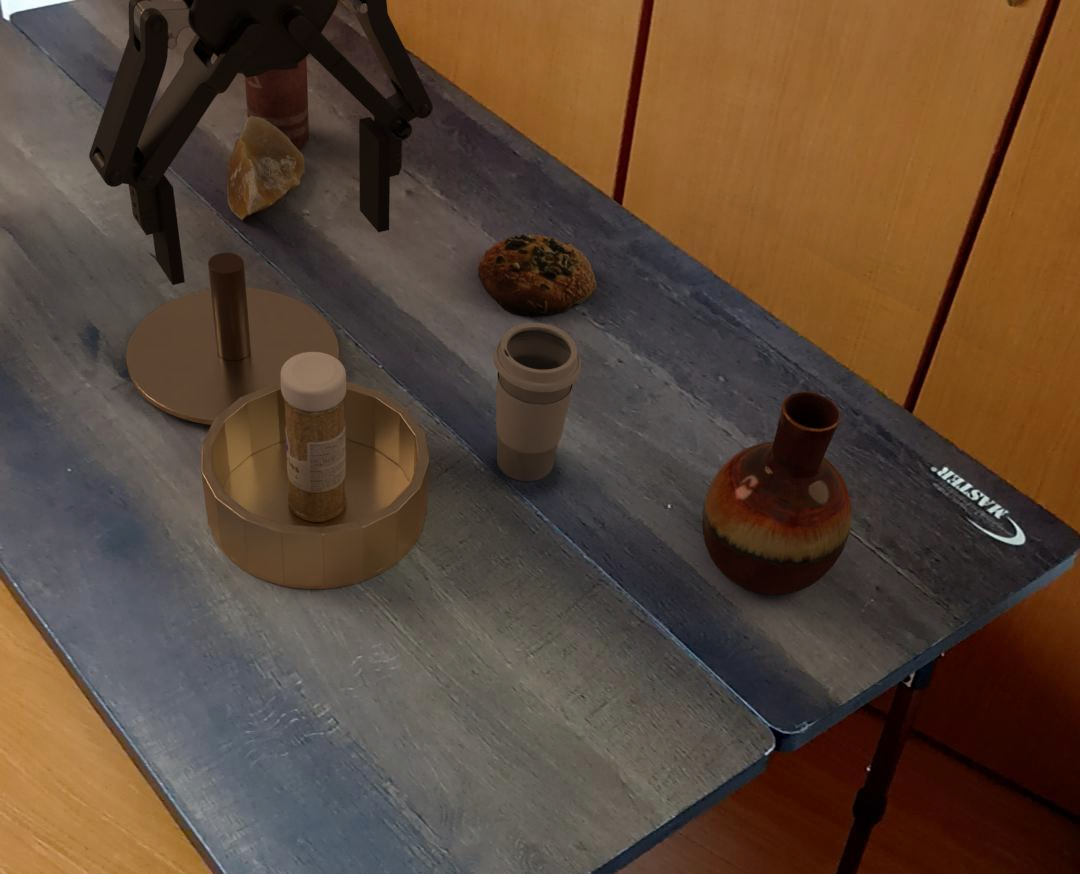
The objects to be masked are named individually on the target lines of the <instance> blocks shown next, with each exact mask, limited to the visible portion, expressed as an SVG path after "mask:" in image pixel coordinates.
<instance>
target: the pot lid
mask: <svg viewBox="0 0 1080 874" xmlns="http://www.w3.org/2000/svg"><path fill="white" fill-rule="evenodd" d="M207 266H208V276H209V285H210V286H209V287H210V289H204V290H201V291H196V292H192V293H189V294H186V295H182V296H180V297H178V298H175V299H173V300H170V301H168V302H166V303H164V304H163V305H161V306H159V307H158V308H156V309H155V310H154V311H152V312H150V313H149V314H148V315H147V316H146V317H144V318H143V320H141V322H139V324H138V325H137V326H136V327H135V329H134V331H133V332H132V334H131V335H130V338H129V341H128V343H127V346H126V352H125V357H126V358H125V362H126V369H127V372H128V376H129V378H130V380H131V383H132V384H133V386H134V387H135V389H136V390H137V391H138V393H139V394H140V395H141V396H142V397H143V398H144V399H145V400H146V401H148V402H149V403H150V404H151V405H153V406H154V407H156V408H157V409H159V410H161V411H162V412H164V413H166V414H168V415H171V416H174V417H176V418H178V419H182V420H185V421H189V422H192V423H197V424H203V425H208V426H209V425H210V426H211V425H212V423H213V421H214V420H215V418H216V417H218V416H219V415H220V414H221V413H222V412H224V411H225V410H226V409H227V408H228V407H230V406H231V405H232V404H233V403H234V402H236V401H237V400H238V399H239V398H241V397H243V396H245V395H248V394H250V393H253V392H255V391H257V390H260V389H262V388H265V387H267V386H269V385H272V384H277V383H281V369H282V367H283V365H284V364H285V362H286V361H287V360H289V359H290V358H291V357H293V356H295V355H298V354H301V353H306V352H321V353H325V354H328V355H331V356H333V357H335V358H336V359H338V360H339V361H340V346H339V340H338V338H337V336H336V334H335V333H336V332H335V331H334V329H333V327H332V326H331V325H330V323H329V322H328V321H327V320H326V319H325V318H324V316H323V315H321V314H320V313H319V312H318V311H317V310H316V309H314V308H313V307H311V306H309V305H308V304H306V303H305V302H302V301H301V300H299V299H297V298H294V297H292V296H289V295H286V294H284V293H281V292H277V291H272V290H267V289H262V288H252V287H246V273H245V261H244V259H243V258H242V257H241V256H240V255H238V254H236V253H233V252H220V253H217V254H216V253H215V254H214V255H212V256H211V257H210V258H209V260H208V262H207Z"/></svg>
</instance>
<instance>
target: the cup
mask: <svg viewBox="0 0 1080 874" xmlns="http://www.w3.org/2000/svg"><path fill="white" fill-rule="evenodd" d="M492 359H493V364H494V366H495V369H496V371H497V374H496V409H495V410H496V411H495V412H496V415H495V429H496V435H497V439H496V440H497V442H496V443H497V444H496V445H497V446H496V464H497V466H498V468H499V470H500V471H501V472H502V473H503V474H504V475H505V476H507V477H509V478H510V479H513V480H516V481H519V482H536V481H539V480H542V479H543V478H545V477H547V476H548V475H549V474H550V473H551V471H552V470H553V467H554V463H555V458H556V453H557V449H558V446H559V443H560V441H561V439H562V435H563V431H564V428H565V427H564V426H565V423H566V418H567V414H568V409H569V405H570V401H571V397H572V392H573V388H574V383H575V382H576V381H577V380H578V378H579V377H580V375H581V373H582V372H581V371H582V360H581V356H580V354H579V352H578V347H577V344H576V342H575V340H574V339H573V338H572V336H570V334H568V333H567V332H566V331H565V330H562V329H561V328H559V327H556V326H554V325H551V324H547V323H542V322H526V323H521V324H517V325H515V326H513V327H511V328H509V329H508V330H507V331H506V332H505V333H504V334H503V335H502V338H501V339H500V340H499V341H498V343H497V345H496V346H495V349H494V351H493V358H492Z"/></svg>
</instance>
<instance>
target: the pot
mask: <svg viewBox="0 0 1080 874" xmlns="http://www.w3.org/2000/svg"><path fill="white" fill-rule="evenodd" d="M344 419H345V451H346V464H345V465H346V471H345V493H346V498H347V501H346V505H345V508H344V510H343V511H342V513H341V514H339V515H338V516H337V517H335V518H332V519H329V520H326V521H322V522H312V521H307V520H304V519H302V518H299V517H298V516H297V515H295V514H294V513H293V512H292V511H291V509H290V507H289V505H288V494H289V478H288V473H287V451H286V431H285V428H286V417H285V401H284V397H283V395H282V392H281V383H277V384H272V385H269V386H267V387H265V388H262V389H260V390H257V391H255V392H253V393H250V394H248V395H245V396H243V397H241V398H239V399H238V400H237V401H236V402H234V403H233V404H232V405H231V406H230V407H228V408H227V409H226V410H225V411H224V412H222V413H221V414H220V415H219V416H218V417H216V418H215V420H214V421H213V423H212V425H210V427H209V429H208V430H207V433H206V435H205V436H204V439H203V440H202V442H201V446H200V451H201V452H200V453H201V459H200V460H201V465H200V466H201V468H200V469H201V471H200V473H201V479H202V488H203V493H204V494H203V495H204V503H205V512H206V519H207V520H206V521H207V525H208V526H209V528H210V532H211V534H212V535H211V536H213V539H214V541H215V542H216V545H217V546H218V547H219V548H220V550H221V551H222V553H223V554H224V555H225V556H226V557H227V558H228V559H229V560H230V561H231V562H232V563H233V564H235V565H236V566H238V567H239V568H240V569H241V570H243V571H244V572H246V573H248V574H250V575H252V576H254V577H256V578H258V579H260V580H262V581H265V582H268V583H270V584H275V585H277V586H281V587H287V588H293V589H301V590H302V589H303V590H328V589H338V588H343V587H347V586H352V585H356V584H358V583H361V582H366V581H368V580H370V579H372V578H375V577H377V576H379V575H381V574H383V573H384V572H386V571H388V570H389V569H391V568H392V567H394V566H395V565H396V564H398V563H399V562H400V561H402V560H403V559H404V558H405V557H406V555H408V553H409V552H410V551H411V549H412V548H413V547H414V546H415V544H416V542H418V540H419V537H420V535H421V533H422V531H423V527H424V524H425V519H426V515H427V513H428V497H429V477H430V476H429V475H430V455H429V449H428V444H427V439H426V438H427V437H426V436H427V435H426V434H425V432H424V430H423V429H422V428H421V427H420V425H419V424H418V423H417V421H416V419H415V418H414V417H413V416H412V414H411V413H410V411H409V410H408V409H406V408H405V407H404V406H402V405H400V404H399V403H398V402H396V401H395V400H393V399H391V398H390V397H389V396H388V395H386V394H384V393H383V392H381V391H378V390H375V389H371V388H369V387H365V386H363V385H360V384H357V383H354V382H350V381H346V394H345V398H344Z"/></svg>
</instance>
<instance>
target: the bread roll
mask: <svg viewBox="0 0 1080 874" xmlns="http://www.w3.org/2000/svg"><path fill="white" fill-rule="evenodd" d="M477 276H478V277H477V278H478V279H479V280H480V283H481V284H482V286H483V288H484V290H485V291H486V293H487V294H488V295H489V296H490V297H491V298H492V300H494V301H495V302H497V304H498V305H499V306H500V307H501V308H502V309H503V310H505V311H507V312H508V313H513V314H517V315H528V316H541V315H542V314H544V315H553V314H557V313H562V312H565V311H569V310H570V309H572V307H573V306H574V305H581V304H583V303H585V302H586V301H588V300H589V299H590V298H591V296H592V294H593V291H594V290H595V289H596V288H597V281H596V277H595V274H594V270H593V267H592V265H591V263H590V262H589V260H588V257H586V255H585V254H584V253H583V252H582V251H581V250H579V249H577V248H576V247H575V246H574V245H573V244H572V243H570V242H567V241H566V242H565V243H564V242H561V241H559V240H557V239H556V238H553V237H547V236H544V235H536V234H525V233H524V234H521V235H520V236H518V235H517V234H515V235H514V237H513V236H511V237H507V238H506V239H505V240H502V241H499V242H497V243H495V244H494V245H492V246H491V247H490V248H488V249H486V250H485V252H484V255H483V256H482V258H481V260H480V261H479V263H478V268H477Z"/></svg>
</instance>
